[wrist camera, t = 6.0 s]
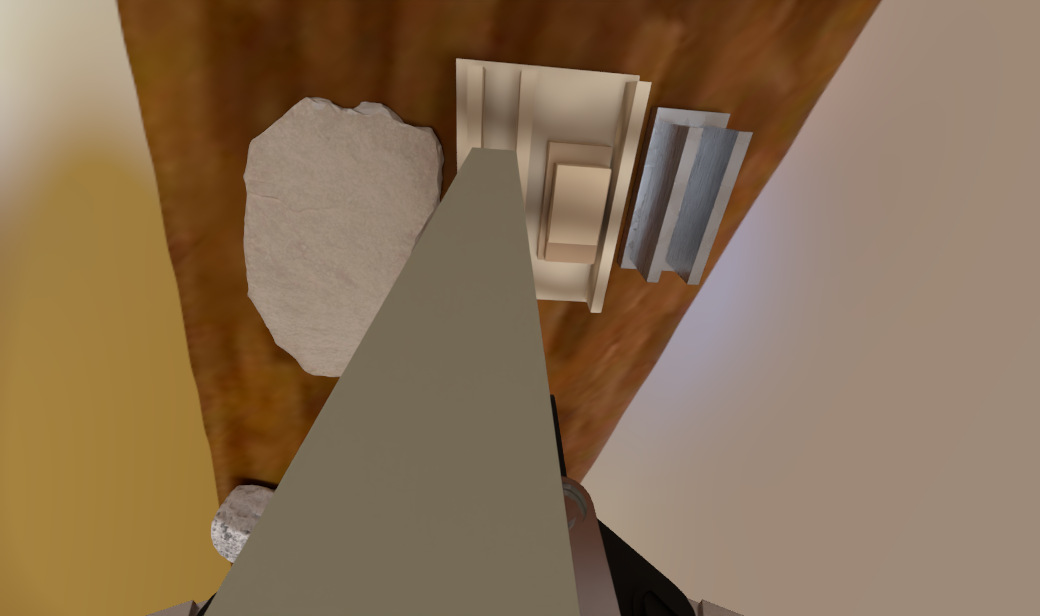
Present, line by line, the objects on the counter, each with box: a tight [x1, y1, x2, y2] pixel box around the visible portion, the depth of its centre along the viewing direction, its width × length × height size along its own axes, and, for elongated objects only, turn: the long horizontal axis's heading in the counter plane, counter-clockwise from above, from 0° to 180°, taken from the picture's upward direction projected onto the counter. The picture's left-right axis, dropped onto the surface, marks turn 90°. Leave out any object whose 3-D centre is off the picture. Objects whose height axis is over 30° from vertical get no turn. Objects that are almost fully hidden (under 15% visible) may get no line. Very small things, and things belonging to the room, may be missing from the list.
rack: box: [456, 58, 651, 313], centre depth 32 cm, size 20×14×6 cm
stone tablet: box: [243, 97, 444, 377], centre depth 36 cm, size 16×30×2 cm, turn 158°
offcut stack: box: [536, 140, 612, 264], centre depth 31 cm, size 10×5×4 cm, turn 176°
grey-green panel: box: [204, 147, 580, 616], centre depth 10 cm, size 12×2×15 cm, turn 176°
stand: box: [617, 107, 753, 285], centre depth 32 cm, size 14×6×6 cm, turn 176°
